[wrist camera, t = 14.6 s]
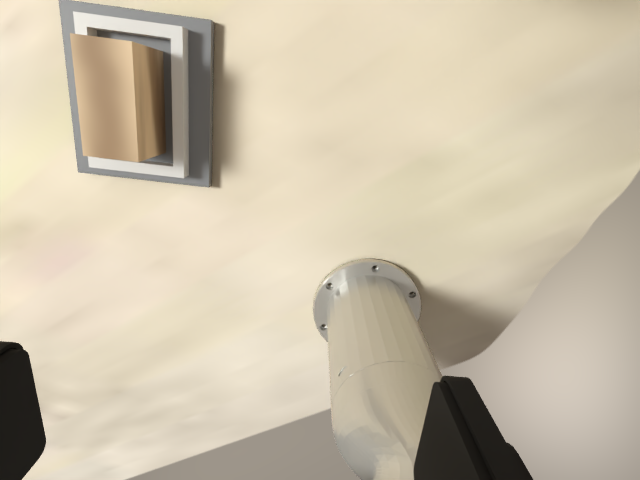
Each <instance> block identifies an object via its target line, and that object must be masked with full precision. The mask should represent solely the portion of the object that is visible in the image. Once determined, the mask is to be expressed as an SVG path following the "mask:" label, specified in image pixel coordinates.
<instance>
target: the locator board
mask: <svg viewBox="0 0 640 480" xmlns="http://www.w3.org/2000/svg"><path fill="white" fill-rule="evenodd" d="M59 7H60V16H61V25H62V34H63V43H64V52H65V60H66V69H67V78H68V87H69V96H70V105H71V114H72V122H73V131H74V140H75V149H76V158H77V167H78V172H81V173H89V174H98V175H106V176H115V177H124V178H132V179H141V180H150V181H158V182H167V183H175V184H184V185H193V186H201V187H210V186H211V182H212V121H213V61H214V22H213V21H212V20H208V19H201V18H193V17H186V16H179V15H172V14H165V13H158V12H150V11H143V10H136V9H129V8H122V7H115V6H107V5H100V4H93V3H86V2H79V1H72V0H59ZM70 33H73V34H81V35H88V36H96V37H103V38H111V39H118V40H126V41H132V42H135V43H139V44H142V45H145V46H148V47H151V48H154V49H157V50H160V51H163V64H164V98H165V132H166V153H164V154H161V155H158V156H155V157H152V158H149V159H146V160H143V161H141V162H132V161H124V160H115V159H107V158H98V157H89V156H83V150H82V141H81V132H80V123H79V113H78V104H77V95H76V86H75V77H74V67H73V58H72V49H71V40H70Z"/></svg>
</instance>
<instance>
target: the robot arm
mask: <svg viewBox="0 0 640 480" xmlns="http://www.w3.org/2000/svg"><path fill="white" fill-rule="evenodd" d="M374 265H376V267H373V266H374ZM328 283H331V284H328ZM410 292H411V293H410ZM420 313H421V298H420V295H419V292H418V289H417V287H416V285H415V283H414V282H413V280H412V279H411V278H410V276H409V275H408V274H407V273H406V272H405V271H403V270H402V269H401V268H399V267H398V266H396V265H394V264H392V263H389V262H386V261H383V260H377V259H360V260H355V261H351V262H348V263H346V264H343V265H341V266H340V267H338V268H336V269H335V270H333V271H332V272H331V273H330V274H329V275H327V276H326V277H325V279H324V280H323V281H322V283H321V284H320V285H319V287H318V289H317V292H316V294H315V298H314V302H313V314H314V321H315V324H316V327H317V329H318V331H319V332H320V334H321V336H322V337H323V338H324V339H325V340H326V341H327V342H328V353H329V374H330V394H331V413H332V427H333V434H334V438H335V442H336V445H337V447H338V450H339V452H340V453H341V455H342V457H343V459H344V460H345V462H346V463H347V465H348V466H349V467H350V468H351V470H352V471H353V472H354V473H355V474H356V475H357V476H358V477H359V478H360V479H361V480H533V479H532V477H531V475H530V473H529V472H528V470H527V468H526V466H525V465H524V463H523V461H522V459H521V458H520V456H519V454H518V453H517V451H516V450H515V449H514V447H513V446H511V445H510V444H509V443H506V442H505V440H504V438H503V436H502V435H501V433H500V431H499V429H498V427H497V426H496V424H495V422H494V420H493V418H492V417H491V415H490V413H489V411H488V409H487V408H486V406H485V404H484V402H483V401H482V399H481V397H480V395H479V394H478V392H477V390H476V388H475V386H474V385H473V383H472V381H471V380H470V379H469V378H466V377H454V376H443V377H442V374H441V372H440V370H439V368H438V366H437V364H436V361H435V359H434V357H433V355H432V353H431V351H430V348H429V346H428V344H427V342H426V340H425V338H424V335H423V333H422V331H421V329H420V327H419V325H418V320H419V318H420ZM323 324H324V325H323ZM45 444H46V437H45V432H44V427H43V422H42V417H41V412H40V407H39V403H38V398H37V393H36V388H35V383H34V378H33V373H32V368H31V363H30V359H29V355H28V352H27V351H25V350H23V347H22V346H21V345H20V344H19V343H15V342H2V341H0V480H22V478H23V477H24V476H25V475H26V474H27V472H28V471H29V470H30V469H31V467H32V466H33V465H34V464H35V463H36V461H37V460H38V459H39V457H40V456H41V455H42V453H43V451H44V448H45Z"/></svg>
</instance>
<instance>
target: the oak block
mask: <svg viewBox="0 0 640 480" xmlns="http://www.w3.org/2000/svg"><path fill="white" fill-rule="evenodd" d="M70 40H71V49H72V58H73V67H74V77H75V86H76V95H77V104H78V113H79V123H80V132H81V141H82V150H83V156H89V157H98V158H107V159H115V160H124V161H132V162H141V161H143V160H146V159H149V158H152V157H155V156H158V155H161V154H164V153H166V132H165V98H164V64H163V51H160V50H157V49H154V48H151V47H148V46H145V45H142V44H139V43H135V42H132V41H126V40H118V39H111V38H103V37H96V36H88V35H81V34H73V33H70Z"/></svg>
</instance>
